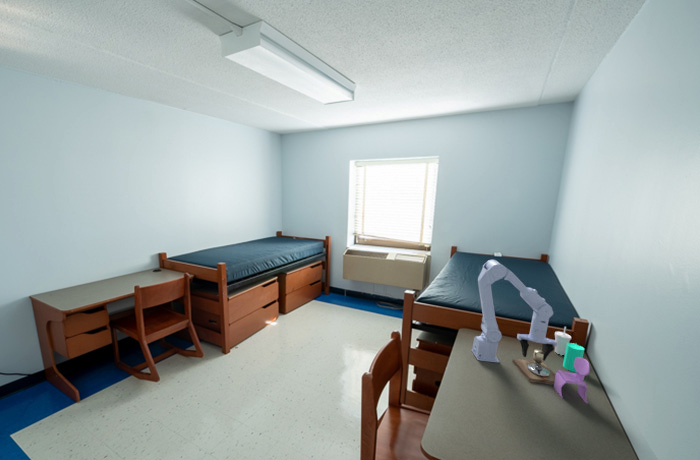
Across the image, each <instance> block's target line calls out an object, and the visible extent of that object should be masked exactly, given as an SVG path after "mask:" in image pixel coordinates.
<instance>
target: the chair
mask: <svg viewBox="0 0 700 460" xmlns="http://www.w3.org/2000/svg"><path fill="white" fill-rule="evenodd" d="M574 368H575V370H576V371H577V373H576V372H572V371H565V370H561V369H557V371H556V372H555V374H556V375H555V383H554V385H553V388H554V390H555V391H556V393H557V394H558V393H559V394H558V395H559V396H561V397H560V398H561V399H563V394H562V388H563V387H564V385H566V384H570V385H571V384H572V385H576V386H578V387H577V395H579V396H580V398H582V400H583V401H584V403H586V405H589V403H588V399H587V391H588V387H587V383H586V381H584V380H585V379H584V378H585V376H588V375H589V374H590V371H591V370H590V363H589V361H588V360H587V359H586V358H584V357H583V358H581V357H577V358H575V361H574Z"/></svg>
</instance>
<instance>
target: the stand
mask: <svg viewBox="0 0 700 460" xmlns="http://www.w3.org/2000/svg"><path fill="white" fill-rule="evenodd" d="M512 363H513V365H514V366H515V367H516V368H517V370H518V371H519V372H520V373H521V374H522V375H523V376H524V377H525V379H526V380H527V382H529V383H536V382H538V383H539V384H544V383H546V385H552V384H553V386H554V383H555V375H556V372H554V371H553V370H552V369H551V368H550V367H548V366H547V365H546V364H545V363H544V361H543V362H542V363H541V366H542V367H544V368H546V369H547V370H548V371H549V373H550V375H549V376H548V377H543V376H539V375H536V374H534V373H533V372H531V371H530V370H529V369H528V364H535V361H534V360H528V359H518V358H512Z"/></svg>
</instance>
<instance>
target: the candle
mask: <svg viewBox="0 0 700 460" xmlns="http://www.w3.org/2000/svg"><path fill="white" fill-rule="evenodd" d="M584 353H585V348H584V347H583V346H581V345H579V344H577V343H576V342H575V343H574V342H573V343H572V342H569V343H567V347H566V351H565V354H564V357H563V362H562V367H563V368H564V369H566V370H567V371H568V372H571V373H577V371H576V370H575V368H574V361H575V358H577V357H581V358H584Z"/></svg>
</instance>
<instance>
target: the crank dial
mask: <svg viewBox="0 0 700 460" xmlns="http://www.w3.org/2000/svg"><path fill="white" fill-rule="evenodd" d="M543 358H544V352H543V351H542V349H541V350H540V349H534V351H533V355H532V361H535V364H528V369H529V370H530V371H531V372H533V373H534V374H536V375H539V376H543V377H548V376H549V375H550V373H549V371H548V370H547V369H546V368H544V367H542V366H541V363H542V362H543V363H544V361H543Z"/></svg>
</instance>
